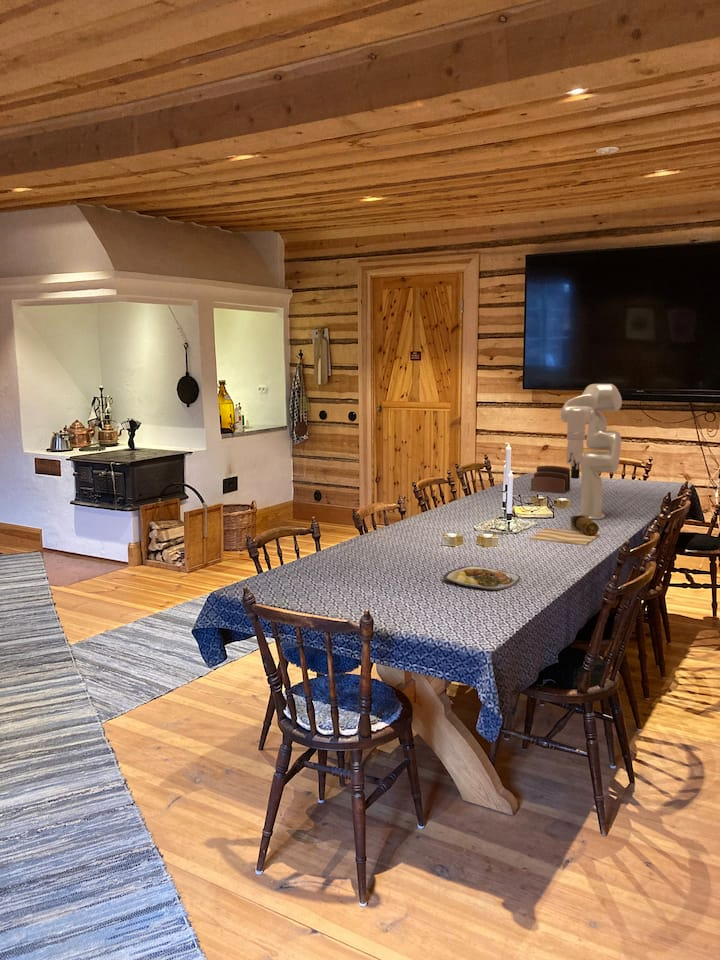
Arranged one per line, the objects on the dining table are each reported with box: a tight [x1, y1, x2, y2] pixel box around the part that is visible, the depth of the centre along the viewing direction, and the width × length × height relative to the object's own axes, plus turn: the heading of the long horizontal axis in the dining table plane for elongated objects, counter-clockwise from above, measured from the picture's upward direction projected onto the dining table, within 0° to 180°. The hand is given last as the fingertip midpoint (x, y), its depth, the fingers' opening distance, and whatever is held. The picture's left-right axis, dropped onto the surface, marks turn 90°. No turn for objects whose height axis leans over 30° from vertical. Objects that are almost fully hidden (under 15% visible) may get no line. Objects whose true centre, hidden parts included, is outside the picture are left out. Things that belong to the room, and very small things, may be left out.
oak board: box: [529, 527, 601, 547], centre depth 331 cm, size 20×24×1 cm
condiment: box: [570, 515, 600, 535], centre depth 335 cm, size 7×8×12 cm
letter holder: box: [530, 465, 571, 494], centre depth 441 cm, size 10×20×14 cm, turn 58°
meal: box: [442, 565, 521, 591], centre depth 273 cm, size 25×25×3 cm
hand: (575, 478), depth 338 cm, fingers closed
